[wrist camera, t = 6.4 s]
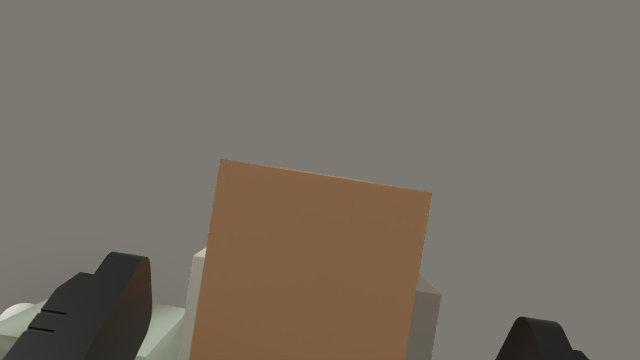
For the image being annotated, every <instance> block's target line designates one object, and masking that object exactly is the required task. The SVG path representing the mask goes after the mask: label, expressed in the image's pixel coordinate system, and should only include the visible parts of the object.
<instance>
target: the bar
mask: <svg viewBox="0 0 640 360" xmlns="http://www.w3.org/2000/svg"><path fill="white" fill-rule="evenodd" d="M431 195H432V193H430V192H425V191H418V190H413V189H408V188H402V187H396V186H390V185H384V184H379V183H373V182H368V181H362V180H356V179H350V178H343V177H338V176H332V175H325V174H319V173H313V172H307V171H300V170H294V169H286V168H280V167H273V166H265V165H258V164H252V163H245V162H238V161H231V160H224V159H220V165H219V172H218V177H217V184H216V190H215V197H214V203H213V210H212V216H211V222H210V229H209V235H208V242H207V248H206V254H205V260H204V267H203V273H202V280H201V286H200V292H199V299H198V305H197V311H196V318H195V324H194V331H193V337H192V343H191V350H190V356H189V360H405V355H406V349H407V343H408V337H409V331H410V325H411V319H412V312H413V306H414V300H415V294H416V288H417V282H418V276H419V269H420V263H421V257H422V251H423V245H424V239H425V233H426V226H427V220H428V214H429V208H430V202H431Z"/></svg>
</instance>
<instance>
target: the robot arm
mask: <svg viewBox="0 0 640 360" xmlns="http://www.w3.org/2000/svg"><path fill="white" fill-rule="evenodd" d="M151 316H152V292H151V271H150V261H149V258H148V257H144V256H137V255H131V254H124V253H118V252H111V253H109V254H108V255H107V256H106V258H105V259H104V261H103V262H102V264H101V265H100V266H99V268H98V269H97V271H96V272H95V274H88V273H82V272H80V273H78V274H77V275H75V276H74V277H73V278H71V279H70V280H68V281H67V282H66V283H64V284H62V285H61V286H59V287H58V288H57V289H56V290H55V291H54V293H53V294H52V295H51V297H50V298H49V299H48V300H47V302H46V303H45V304H44V306H43V307H42V308H41V312H40V313H37V315H36V316H35V317H34V319H33V320H32V321H31V323H30V324H29V325H28V328H27V330H26V331H24V332H23V333H22V334H21V336H20V337H19V338H18V340H17V341H16V342H15V343H14V345H13V346H12V347H11V349H10V350H9V351H8V353H7V354H6V355H5V357H4V358H3V359H2V360H135V358H136V356H137V353H138V351H139V349H140V347H141V345H142V343H143V341H144V339H145V337H146V334H147V332H148V329H149V325H150V321H151ZM495 360H589V359H588V358H587V357H586V356H585V355H584V354H583V353H582V351H577V350H572V348H571V346H570V343H569V341H568V339H567V337H566V335H565V333H564V331H563V329H562V327H561V326H560V325H559V324H558V323H557V322H553V321H546V320H540V319H534V318H527V317H519V318H517V319H516V320H515V322H514V324H513V326H512V328H511V330H510V332H509V334H508V336H507V338H506V340H505V342H504V344H503V346H502V348H501V350H500V352H499V354H498V356H497V358H496V359H495Z"/></svg>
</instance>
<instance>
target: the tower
mask: <svg viewBox="0 0 640 360" xmlns="http://www.w3.org/2000/svg"><path fill="white" fill-rule="evenodd" d="M47 300H48V299H47ZM47 300H45V301H43V302H40V303H39V304H36V305H34V306H32V307H30V308H28V309H26V310H24V311H21V312H19V313H17V314H15V315H13V316H11V317H9V318H7V319H5V320H2V321H0V360H2V359H3V358H4V357H5V355H6V354H7V353H8V351H9V350H10V349H11V347H12V346H13V345H14V343H15V342H16V341H17V340H18V338H19V337H20V336H21V334H22V333H23V332H24V331H26V330H27V328H28V325H29V324H30V323H31V321H32V320H33V319H34V317H35V316H36V315H37V313H40V312H41V308H42V307H43V306H44V304H45V303H46V302H47ZM184 314H185V309H184V308H177V307H171V306H165V305H158V304H152V316H151V321H150V325H149V329H148V332H147V334H146V337H145V339H144V341H143V343H142V345H141V347H140V349H139V351H138V353H137V356H136V358H135V360H177V359H178V352H179V346H180V339H181V333H182V327H183V320H184Z"/></svg>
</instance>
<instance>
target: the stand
mask: <svg viewBox="0 0 640 360" xmlns="http://www.w3.org/2000/svg"><path fill="white" fill-rule="evenodd" d="M206 248H207V247H206ZM206 248H204V249H203V250H201V251H200V252H198V253H197V254H196V255H194V256H193V263H192V269H191V276H190V282H189V288H188V295H187V302H186V307H185V314H184V320H183V327H182V333H181V339H180V346H179V352H178V359H177V360H189V356H190V350H191V343H192V337H193V331H194V324H195V318H196V311H197V305H198V299H199V292H200V286H201V280H202V273H203V267H204V260H205V254H206ZM440 301H441V294H440V293H439V292H438V291H437V290H436V289H435V288H434V287H433V286H432V285H431V284H430V283H429V282H428V281H427V280H426V279H425V278H424V277H423V276H422V275H421V274H420V273H419V276H418V282H417V288H416V294H415V300H414V306H413V312H412V319H411V325H410V331H409V337H408V343H407V349H406V355H405V360H431V356H432V350H433V344H434V338H435V332H436V325H437V320H438V314H439V307H440Z"/></svg>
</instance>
